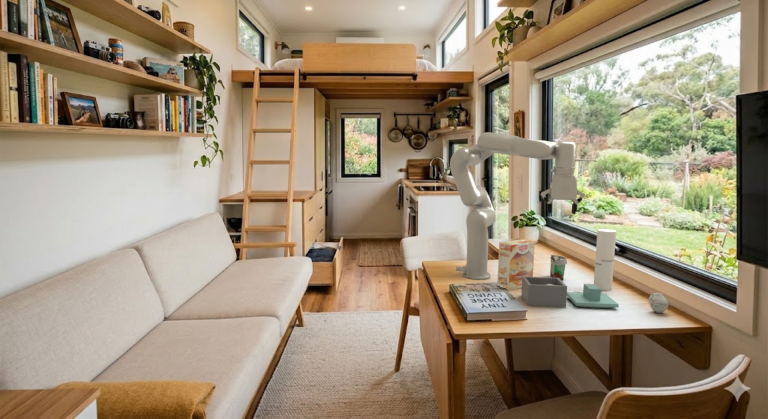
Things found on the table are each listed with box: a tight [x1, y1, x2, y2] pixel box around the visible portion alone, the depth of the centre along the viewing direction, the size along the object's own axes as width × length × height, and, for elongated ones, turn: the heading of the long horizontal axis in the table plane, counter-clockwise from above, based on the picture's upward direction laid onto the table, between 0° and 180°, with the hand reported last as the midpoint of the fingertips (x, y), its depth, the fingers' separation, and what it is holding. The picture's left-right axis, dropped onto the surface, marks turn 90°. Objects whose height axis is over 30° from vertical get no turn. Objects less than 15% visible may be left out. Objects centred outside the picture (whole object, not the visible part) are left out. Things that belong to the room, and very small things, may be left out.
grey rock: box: [648, 292, 670, 314], centre depth 168 cm, size 6×7×7 cm
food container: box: [549, 254, 568, 282], centre depth 210 cm, size 12×6×10 cm, turn 168°
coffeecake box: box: [496, 238, 536, 291], centre depth 198 cm, size 15×7×20 cm, turn 122°
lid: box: [567, 283, 619, 309], centre depth 177 cm, size 15×13×7 cm
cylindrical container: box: [593, 228, 617, 292], centre depth 196 cm, size 7×7×25 cm
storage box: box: [521, 276, 568, 308], centre depth 178 cm, size 14×12×8 cm
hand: (561, 213), depth 192 cm, fingers open, 9 cm apart
